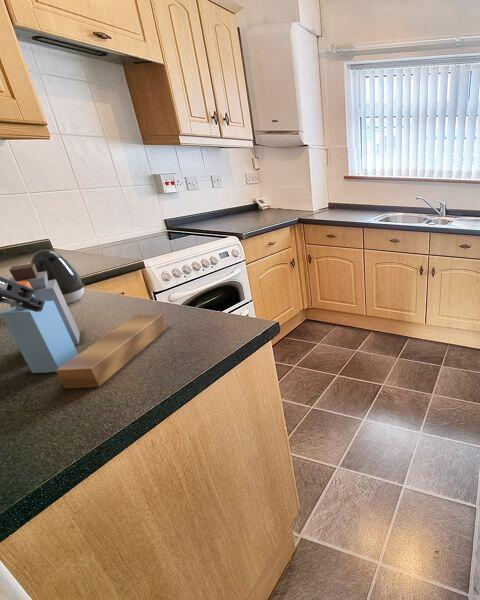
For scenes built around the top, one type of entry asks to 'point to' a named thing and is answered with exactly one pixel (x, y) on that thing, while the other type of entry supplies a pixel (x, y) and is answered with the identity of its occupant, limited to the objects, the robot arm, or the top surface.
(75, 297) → the pump dispenser
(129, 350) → the wooden board
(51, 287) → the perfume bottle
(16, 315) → the light blue bottle
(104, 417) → the top surface
